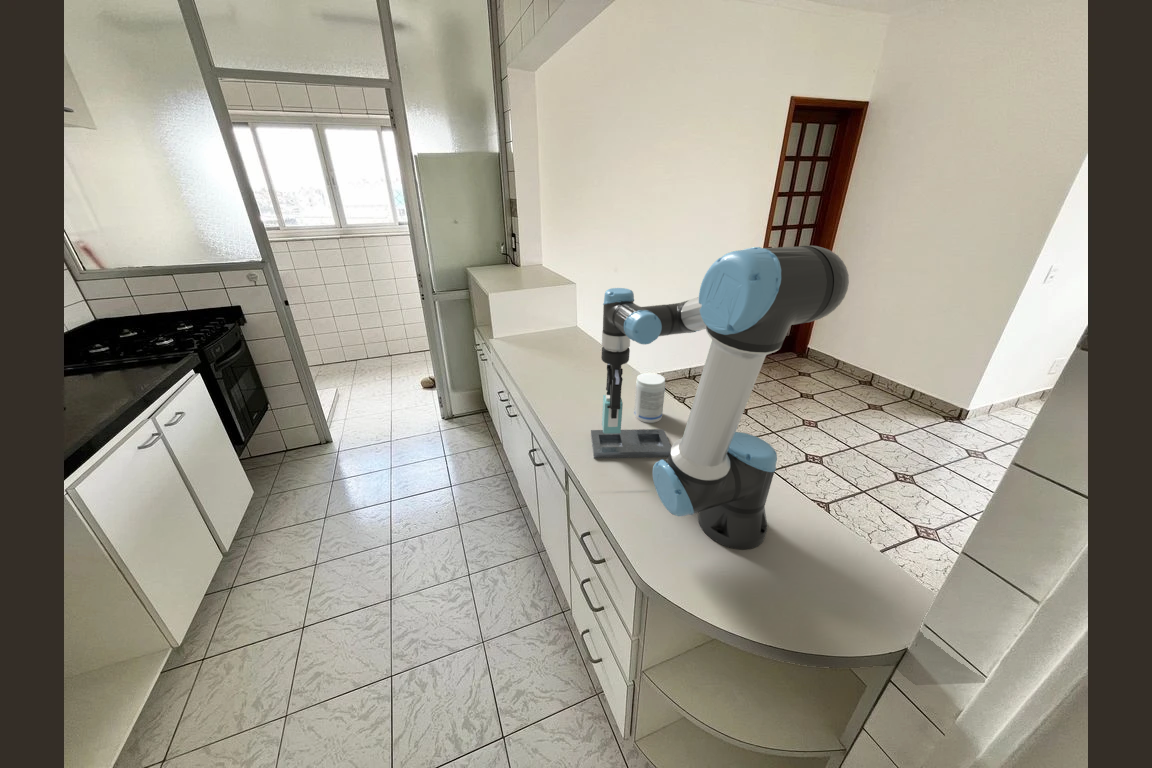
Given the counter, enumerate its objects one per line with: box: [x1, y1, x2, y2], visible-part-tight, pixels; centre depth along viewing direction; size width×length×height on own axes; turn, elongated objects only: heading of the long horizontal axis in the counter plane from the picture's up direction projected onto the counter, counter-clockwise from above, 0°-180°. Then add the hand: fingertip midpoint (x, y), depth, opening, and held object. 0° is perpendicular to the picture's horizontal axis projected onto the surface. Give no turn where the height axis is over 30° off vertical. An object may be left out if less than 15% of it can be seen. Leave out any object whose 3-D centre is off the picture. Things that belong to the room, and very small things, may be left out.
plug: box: [601, 394, 624, 433], centre depth 119 cm, size 5×5×11 cm
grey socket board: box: [590, 428, 672, 459], centre depth 124 cm, size 12×23×2 cm, turn 92°
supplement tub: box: [633, 372, 666, 424], centre depth 138 cm, size 10×10×15 cm
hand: (611, 420), depth 121 cm, fingers closed on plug, 5 cm apart
